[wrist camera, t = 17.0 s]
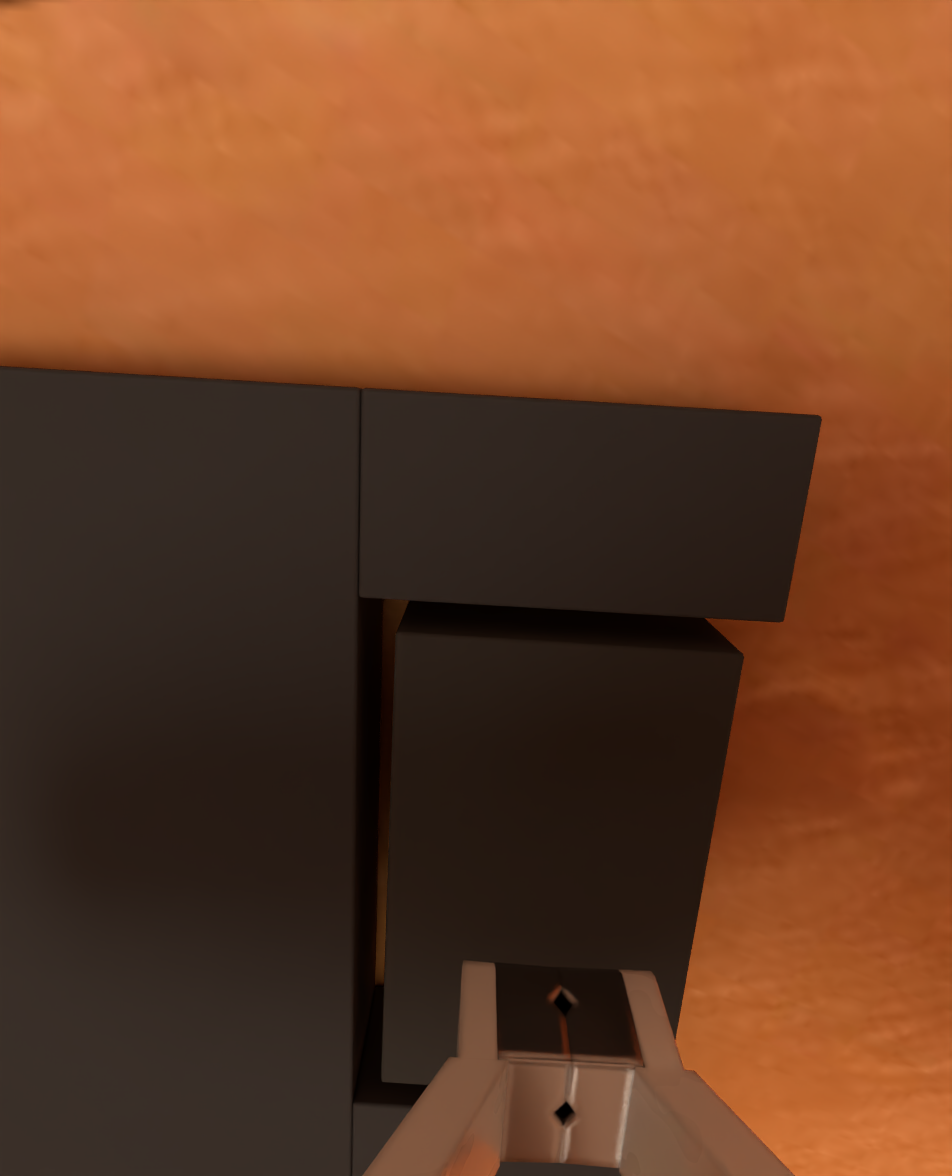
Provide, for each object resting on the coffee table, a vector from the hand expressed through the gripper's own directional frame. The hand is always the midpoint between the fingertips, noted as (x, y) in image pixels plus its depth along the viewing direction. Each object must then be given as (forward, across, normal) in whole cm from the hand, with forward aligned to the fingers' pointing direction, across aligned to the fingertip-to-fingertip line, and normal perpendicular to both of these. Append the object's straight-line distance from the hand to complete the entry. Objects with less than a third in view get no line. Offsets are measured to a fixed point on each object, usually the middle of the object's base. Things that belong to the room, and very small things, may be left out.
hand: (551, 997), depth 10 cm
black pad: (+5, 0, 0) cm, 5 cm away
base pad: (+5, +4, 0) cm, 7 cm away
